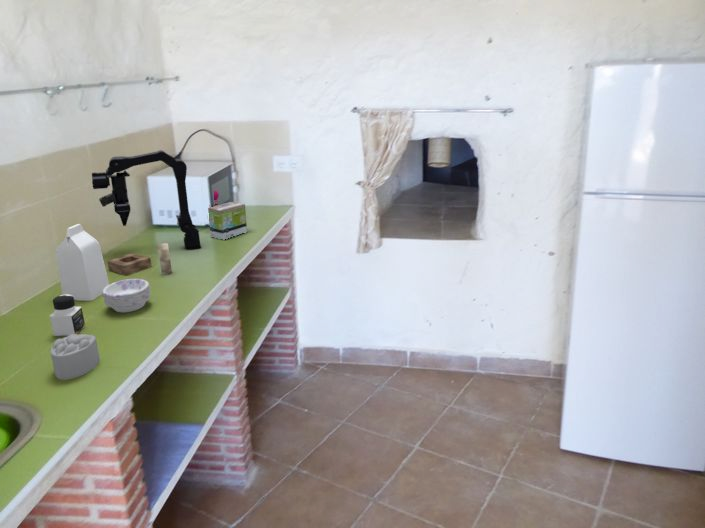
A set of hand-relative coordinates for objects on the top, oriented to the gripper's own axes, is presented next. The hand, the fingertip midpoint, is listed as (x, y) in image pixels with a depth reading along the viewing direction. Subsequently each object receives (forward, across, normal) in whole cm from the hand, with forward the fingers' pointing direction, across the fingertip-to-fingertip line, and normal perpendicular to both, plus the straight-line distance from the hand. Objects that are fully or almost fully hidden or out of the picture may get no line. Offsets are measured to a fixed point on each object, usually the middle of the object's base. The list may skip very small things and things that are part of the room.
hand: (124, 223), depth 259 cm
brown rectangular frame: (+15, +17, 0) cm, 23 cm away
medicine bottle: (+17, +72, -21) cm, 77 cm away
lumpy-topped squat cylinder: (+17, +100, -19) cm, 103 cm away
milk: (+16, +40, -16) cm, 46 cm away
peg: (+15, +30, +13) cm, 36 cm away
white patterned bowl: (+16, +60, -2) cm, 62 cm away
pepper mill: (+13, -31, +44) cm, 55 cm away
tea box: (+14, -11, +46) cm, 50 cm away
